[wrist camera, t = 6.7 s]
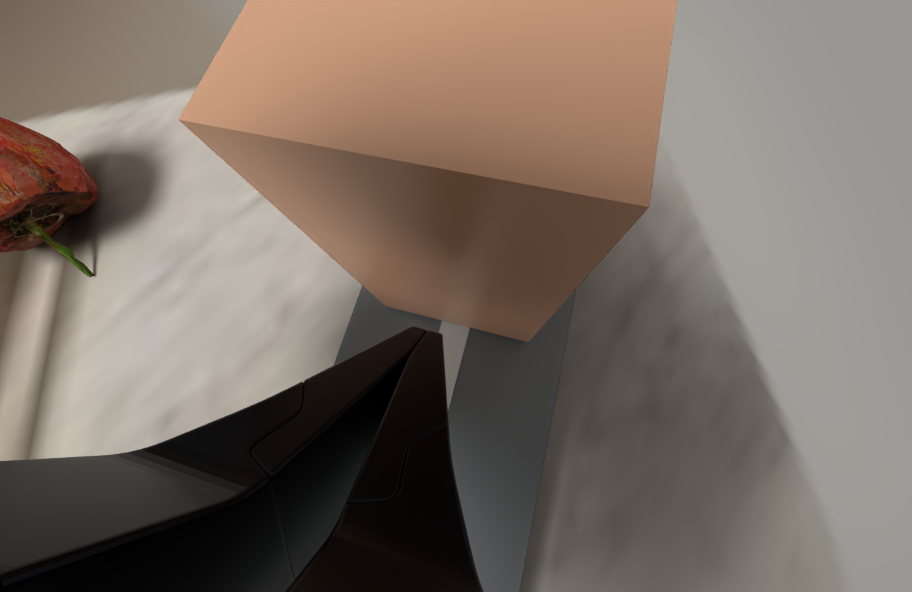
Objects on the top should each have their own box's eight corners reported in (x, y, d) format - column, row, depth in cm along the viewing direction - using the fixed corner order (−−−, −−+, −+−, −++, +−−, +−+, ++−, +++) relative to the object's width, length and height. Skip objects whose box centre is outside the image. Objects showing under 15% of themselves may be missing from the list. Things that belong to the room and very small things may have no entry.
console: (466, 806, 11) (463, 893, 9) (237, 700, 13) (192, 757, 11) (577, 234, 17) (590, 213, 15) (409, 200, 18) (400, 176, 16)
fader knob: (528, 342, 13) (649, 207, 4) (385, 306, 14) (178, 120, 4) (547, 250, 14) (683, -45, 5) (413, 222, 15) (293, -77, 5)
